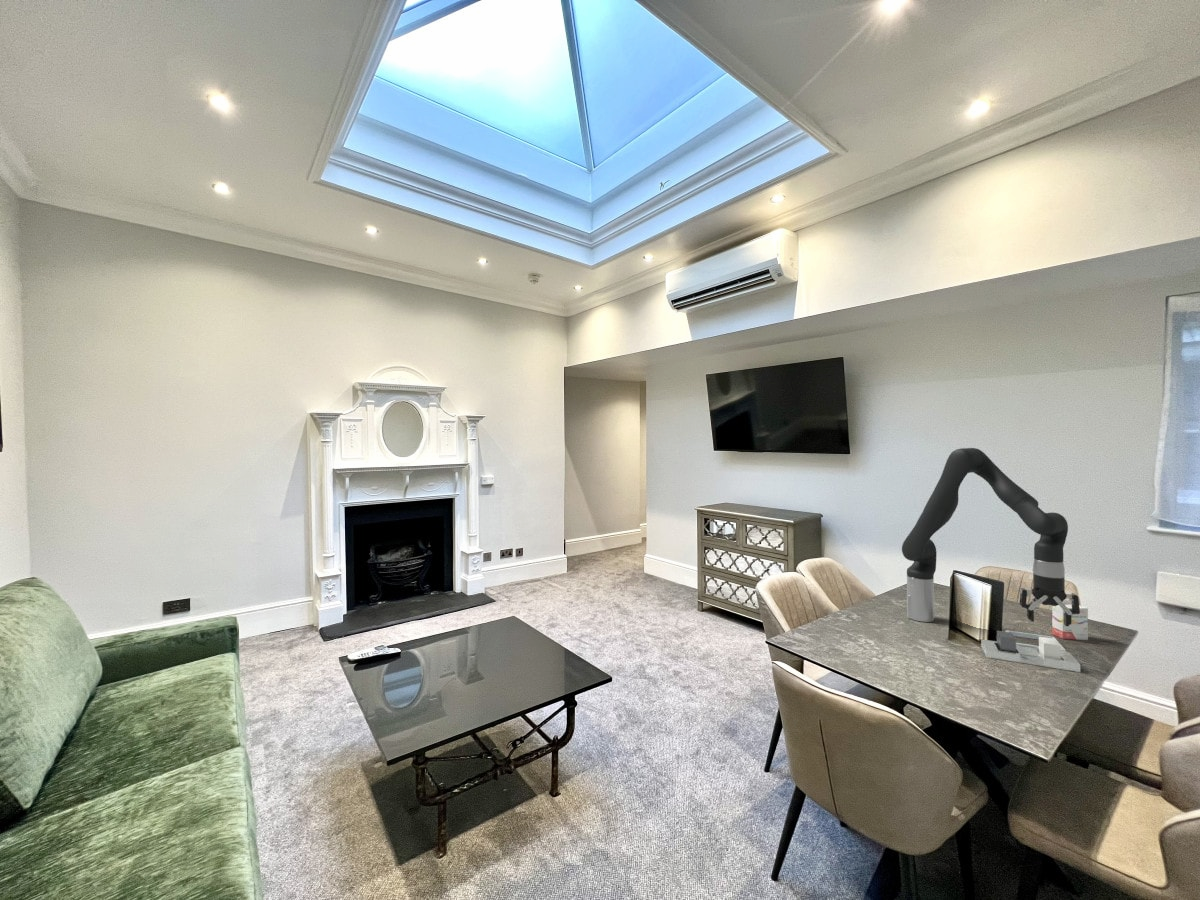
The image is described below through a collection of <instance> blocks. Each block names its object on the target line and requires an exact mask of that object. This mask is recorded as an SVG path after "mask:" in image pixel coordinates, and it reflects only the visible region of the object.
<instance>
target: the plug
mask: <svg viewBox="0 0 1200 900" xmlns="http://www.w3.org/2000/svg"><path fill="white" fill-rule="evenodd" d="M1055 639H1056V638H1055ZM1055 639H1053V638H1046V637H1039V639H1038V646H1039V654H1040V655H1041V656H1042V657H1045V658H1052V659H1058V660H1061V645H1062V644H1061V643H1060V642H1059V641H1058V640H1057V639H1056V640H1057V641H1058V642H1059V643H1060V644H1061V645H1060V644H1059V643H1058V642H1057V641H1056V640H1055Z"/></svg>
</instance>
